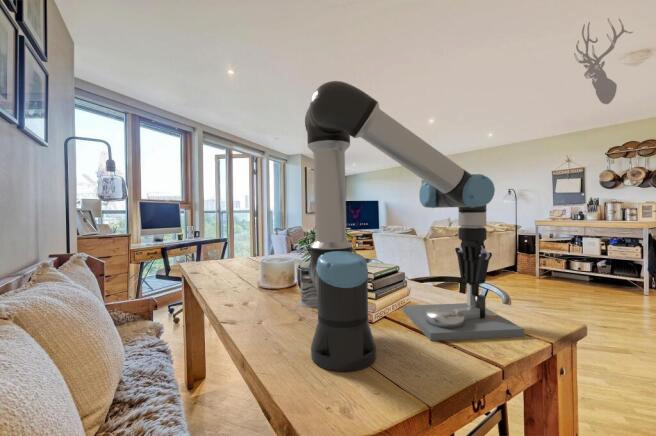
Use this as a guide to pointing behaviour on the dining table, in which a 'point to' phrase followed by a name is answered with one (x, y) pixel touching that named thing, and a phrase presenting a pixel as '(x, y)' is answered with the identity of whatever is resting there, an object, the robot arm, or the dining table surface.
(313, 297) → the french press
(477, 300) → the cam lever
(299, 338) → the dining table surface
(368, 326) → the robot arm
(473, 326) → the stand
